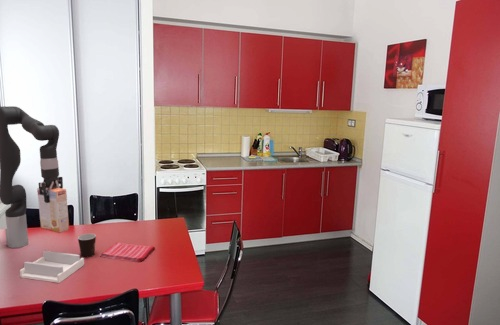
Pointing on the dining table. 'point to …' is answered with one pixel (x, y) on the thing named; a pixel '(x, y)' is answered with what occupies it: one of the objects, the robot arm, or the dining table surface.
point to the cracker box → (54, 210)
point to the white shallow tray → (52, 267)
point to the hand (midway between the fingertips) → (52, 200)
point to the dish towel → (128, 252)
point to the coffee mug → (87, 244)
